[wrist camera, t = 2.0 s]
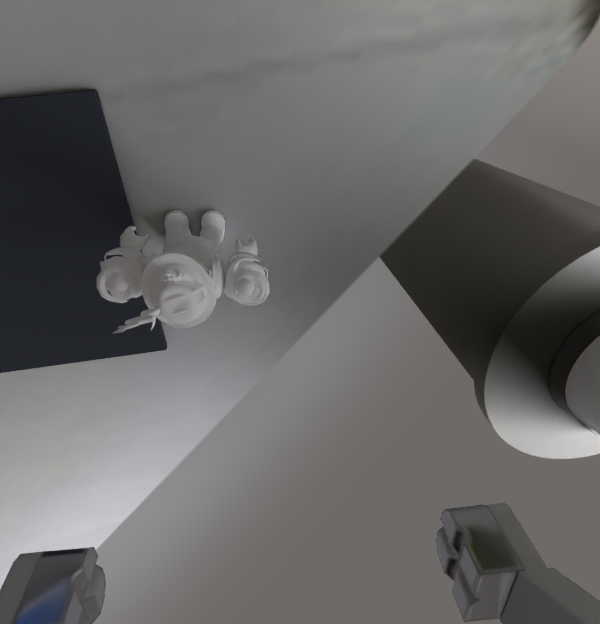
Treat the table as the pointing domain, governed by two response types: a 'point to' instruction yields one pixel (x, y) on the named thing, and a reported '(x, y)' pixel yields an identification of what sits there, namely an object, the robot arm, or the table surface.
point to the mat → (61, 235)
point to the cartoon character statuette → (182, 273)
